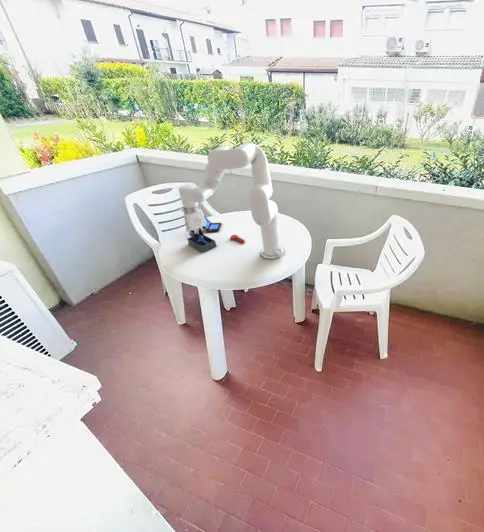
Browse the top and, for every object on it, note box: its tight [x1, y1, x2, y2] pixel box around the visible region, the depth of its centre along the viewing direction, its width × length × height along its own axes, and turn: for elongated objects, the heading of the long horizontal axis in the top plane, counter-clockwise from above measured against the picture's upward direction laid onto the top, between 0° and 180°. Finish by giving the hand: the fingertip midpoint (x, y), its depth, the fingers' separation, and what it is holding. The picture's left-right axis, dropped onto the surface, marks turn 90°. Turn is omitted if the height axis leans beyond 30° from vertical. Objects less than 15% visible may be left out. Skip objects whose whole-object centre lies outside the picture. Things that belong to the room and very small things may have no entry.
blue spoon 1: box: [188, 232, 203, 240], centre depth 165 cm, size 12×4×2 cm, turn 52°
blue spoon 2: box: [197, 238, 209, 244], centre depth 170 cm, size 12×4×2 cm, turn 52°
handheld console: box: [203, 215, 222, 233], centre depth 187 cm, size 12×11×7 cm
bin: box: [186, 234, 217, 254], centre depth 169 cm, size 15×9×4 cm, turn 52°
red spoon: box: [230, 234, 246, 244], centre depth 175 cm, size 12×4×2 cm, turn 51°
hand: (199, 237), depth 164 cm, fingers closed on blue spoon 1, 2 cm apart
